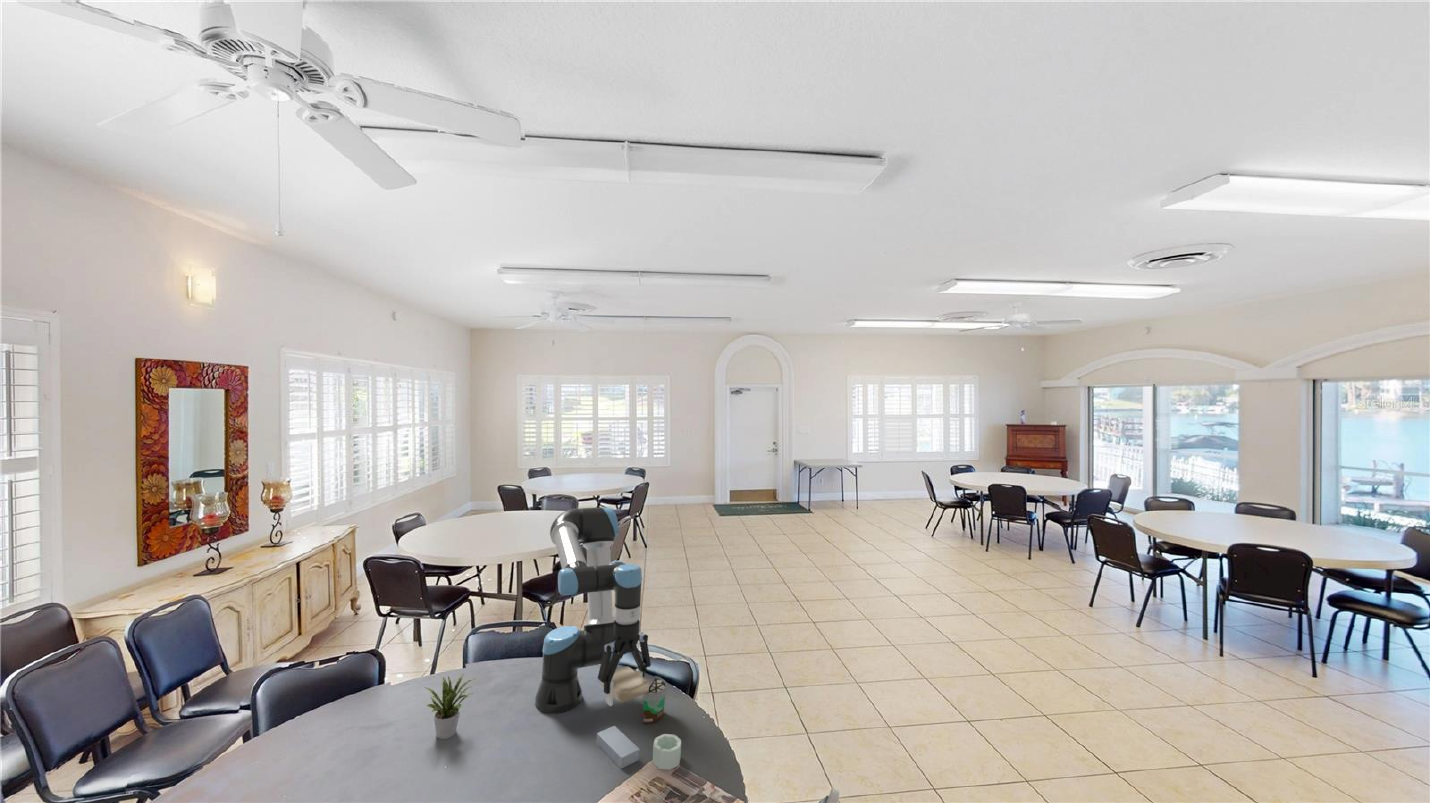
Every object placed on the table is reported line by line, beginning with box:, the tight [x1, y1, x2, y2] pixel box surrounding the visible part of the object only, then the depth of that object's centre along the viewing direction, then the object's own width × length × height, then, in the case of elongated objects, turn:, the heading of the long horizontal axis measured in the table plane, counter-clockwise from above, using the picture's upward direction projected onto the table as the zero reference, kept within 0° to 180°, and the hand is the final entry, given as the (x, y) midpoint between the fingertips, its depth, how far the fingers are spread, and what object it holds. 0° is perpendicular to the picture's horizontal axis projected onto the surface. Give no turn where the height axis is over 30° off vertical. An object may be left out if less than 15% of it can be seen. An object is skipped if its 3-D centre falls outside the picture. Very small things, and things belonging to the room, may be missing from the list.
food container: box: [642, 675, 669, 725], centre depth 168 cm, size 12×6×10 cm, turn 168°
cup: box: [652, 733, 682, 771], centre depth 147 cm, size 8×8×5 cm
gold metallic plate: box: [600, 665, 650, 704], centre depth 150 cm, size 12×9×3 cm
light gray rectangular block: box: [596, 725, 641, 770], centre depth 150 cm, size 14×6×3 cm, turn 41°
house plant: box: [425, 673, 476, 740], centre depth 156 cm, size 14×14×16 cm
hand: (624, 697), depth 150 cm, fingers closed on gold metallic plate, 9 cm apart
